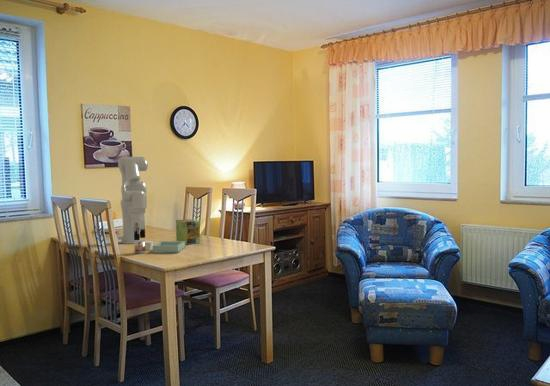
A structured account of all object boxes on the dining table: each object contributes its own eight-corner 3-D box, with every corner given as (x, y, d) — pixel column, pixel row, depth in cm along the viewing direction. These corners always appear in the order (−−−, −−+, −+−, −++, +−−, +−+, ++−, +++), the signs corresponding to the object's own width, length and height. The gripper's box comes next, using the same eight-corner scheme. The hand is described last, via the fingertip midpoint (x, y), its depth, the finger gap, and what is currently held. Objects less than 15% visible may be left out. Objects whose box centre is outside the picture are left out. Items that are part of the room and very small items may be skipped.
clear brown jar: (133, 254, 288) (132, 242, 287) (136, 251, 294) (136, 240, 293) (143, 254, 287) (143, 242, 287) (147, 252, 294) (146, 240, 293)
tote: (152, 252, 290) (152, 245, 290) (160, 248, 306) (160, 241, 306) (178, 253, 289) (178, 245, 288) (184, 248, 305) (184, 241, 304)
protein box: (186, 245, 316) (186, 222, 314) (176, 242, 327) (175, 220, 326) (200, 243, 322) (200, 220, 321) (189, 240, 334) (188, 218, 333)
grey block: (141, 250, 299) (141, 242, 299) (144, 248, 305) (144, 240, 305) (150, 250, 299) (150, 242, 299) (153, 248, 305) (153, 241, 305)
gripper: (138, 210, 297) (138, 236, 298) (127, 212, 280) (128, 241, 281) (149, 210, 297) (150, 236, 298) (139, 212, 280) (140, 241, 280)
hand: (139, 238), depth 289 cm, fingers open, 9 cm apart
